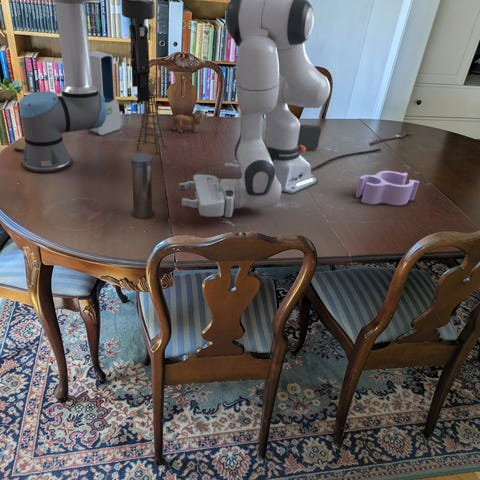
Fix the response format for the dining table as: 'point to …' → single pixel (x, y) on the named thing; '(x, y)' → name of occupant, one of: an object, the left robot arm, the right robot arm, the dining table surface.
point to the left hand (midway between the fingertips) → (140, 93)
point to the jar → (142, 191)
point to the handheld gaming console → (309, 136)
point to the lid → (141, 160)
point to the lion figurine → (189, 120)
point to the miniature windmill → (151, 95)
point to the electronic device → (105, 90)
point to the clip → (386, 188)
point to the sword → (389, 138)
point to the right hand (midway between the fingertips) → (180, 194)
